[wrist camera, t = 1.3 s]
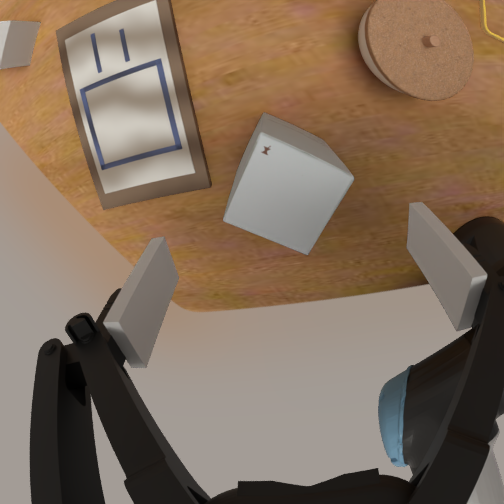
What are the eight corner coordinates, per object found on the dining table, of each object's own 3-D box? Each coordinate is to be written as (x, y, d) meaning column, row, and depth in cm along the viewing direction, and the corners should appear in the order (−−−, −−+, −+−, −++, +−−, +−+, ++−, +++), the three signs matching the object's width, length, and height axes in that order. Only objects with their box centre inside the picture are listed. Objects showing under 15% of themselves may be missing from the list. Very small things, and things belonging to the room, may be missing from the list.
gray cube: (12, 23, 23) (-17, 23, 17) (41, 22, 23) (11, 20, 18) (3, 64, 26) (-27, 68, 20) (30, 65, 26) (-1, 69, 21)
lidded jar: (450, 75, 25) (499, 81, 17) (377, 109, 29) (413, 122, 21) (406, -8, 21) (447, -28, 13) (326, 22, 24) (347, 3, 16)
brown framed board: (211, 184, 34) (209, 188, 33) (106, 206, 36) (102, 210, 35) (167, -16, 22) (163, -19, 21) (60, 31, 24) (54, 30, 23)
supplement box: (235, 171, 34) (217, 221, 23) (263, 110, 30) (260, 128, 19) (295, 198, 35) (307, 259, 24) (327, 140, 31) (357, 176, 20)
